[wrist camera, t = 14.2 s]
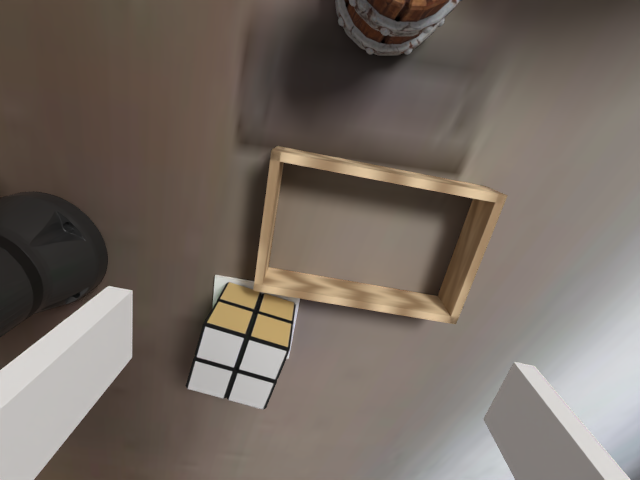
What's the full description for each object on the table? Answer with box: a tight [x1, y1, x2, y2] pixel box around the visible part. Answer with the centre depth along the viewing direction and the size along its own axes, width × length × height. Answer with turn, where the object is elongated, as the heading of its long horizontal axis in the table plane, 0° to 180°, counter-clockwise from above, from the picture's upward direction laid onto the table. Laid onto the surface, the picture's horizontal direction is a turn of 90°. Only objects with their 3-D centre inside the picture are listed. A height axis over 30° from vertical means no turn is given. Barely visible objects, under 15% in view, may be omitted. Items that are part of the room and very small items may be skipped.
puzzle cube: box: [186, 282, 296, 409], centre depth 42 cm, size 10×10×10 cm
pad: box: [212, 275, 300, 359], centre depth 47 cm, size 12×12×1 cm
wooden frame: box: [253, 146, 507, 324], centre depth 40 cm, size 26×17×5 cm, turn 79°
